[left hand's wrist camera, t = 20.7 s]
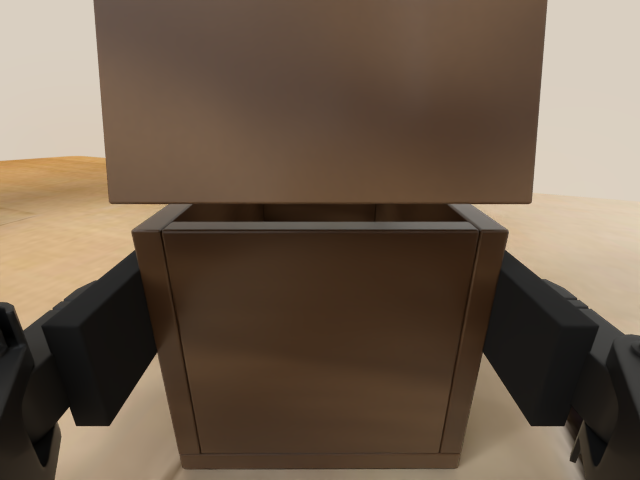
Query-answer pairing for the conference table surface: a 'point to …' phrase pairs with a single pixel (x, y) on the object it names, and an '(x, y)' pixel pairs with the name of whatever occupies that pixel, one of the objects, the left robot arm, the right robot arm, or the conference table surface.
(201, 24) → the lid
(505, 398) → the conference table surface
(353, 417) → the chest
